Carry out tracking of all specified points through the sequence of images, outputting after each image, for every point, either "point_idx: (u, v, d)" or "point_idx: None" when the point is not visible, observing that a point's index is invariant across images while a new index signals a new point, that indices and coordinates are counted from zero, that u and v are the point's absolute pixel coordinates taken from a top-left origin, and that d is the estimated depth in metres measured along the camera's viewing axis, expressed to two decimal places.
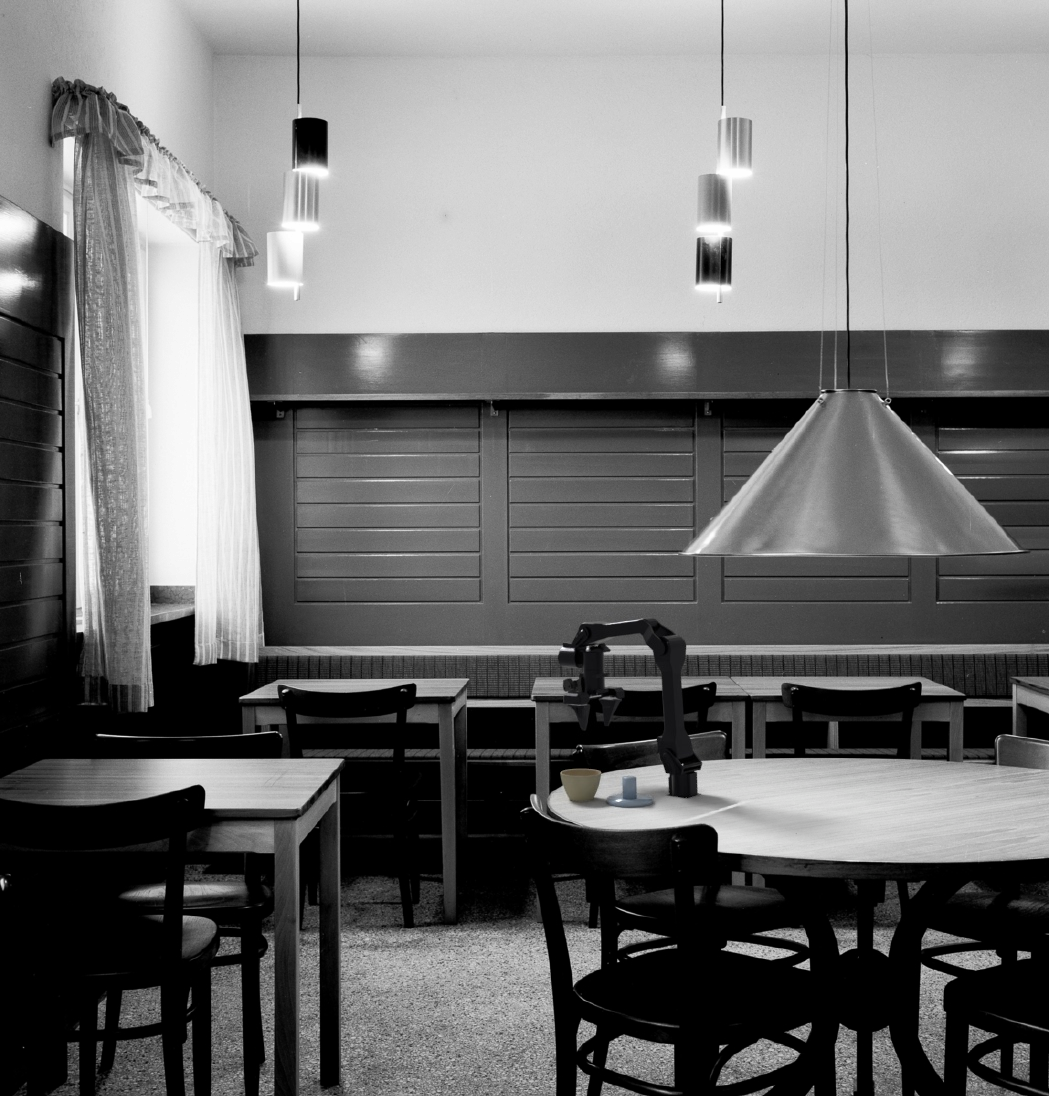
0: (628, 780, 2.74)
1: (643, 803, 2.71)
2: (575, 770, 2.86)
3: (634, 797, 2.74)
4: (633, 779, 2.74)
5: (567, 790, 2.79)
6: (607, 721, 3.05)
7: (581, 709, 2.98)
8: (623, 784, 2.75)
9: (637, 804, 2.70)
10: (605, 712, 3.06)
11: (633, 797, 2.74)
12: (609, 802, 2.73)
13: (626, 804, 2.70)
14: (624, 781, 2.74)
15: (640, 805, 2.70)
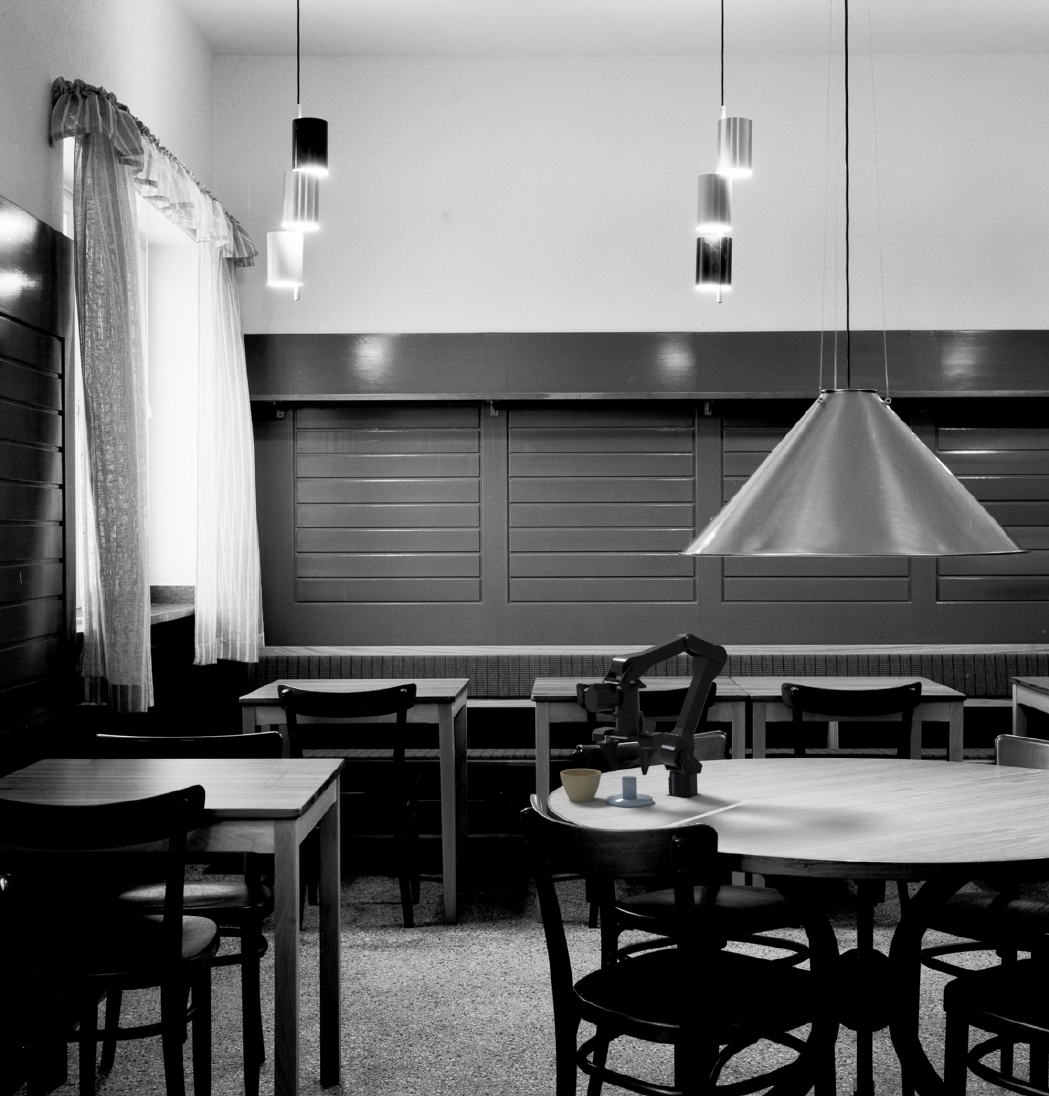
0: (628, 780, 2.74)
1: (643, 803, 2.71)
2: (575, 770, 2.86)
3: (634, 797, 2.74)
4: (633, 779, 2.74)
5: (567, 790, 2.79)
6: None
7: None
8: (623, 784, 2.75)
9: (637, 804, 2.70)
10: None
11: (633, 797, 2.74)
12: (609, 802, 2.73)
13: (626, 804, 2.70)
14: (624, 781, 2.74)
15: (640, 805, 2.70)
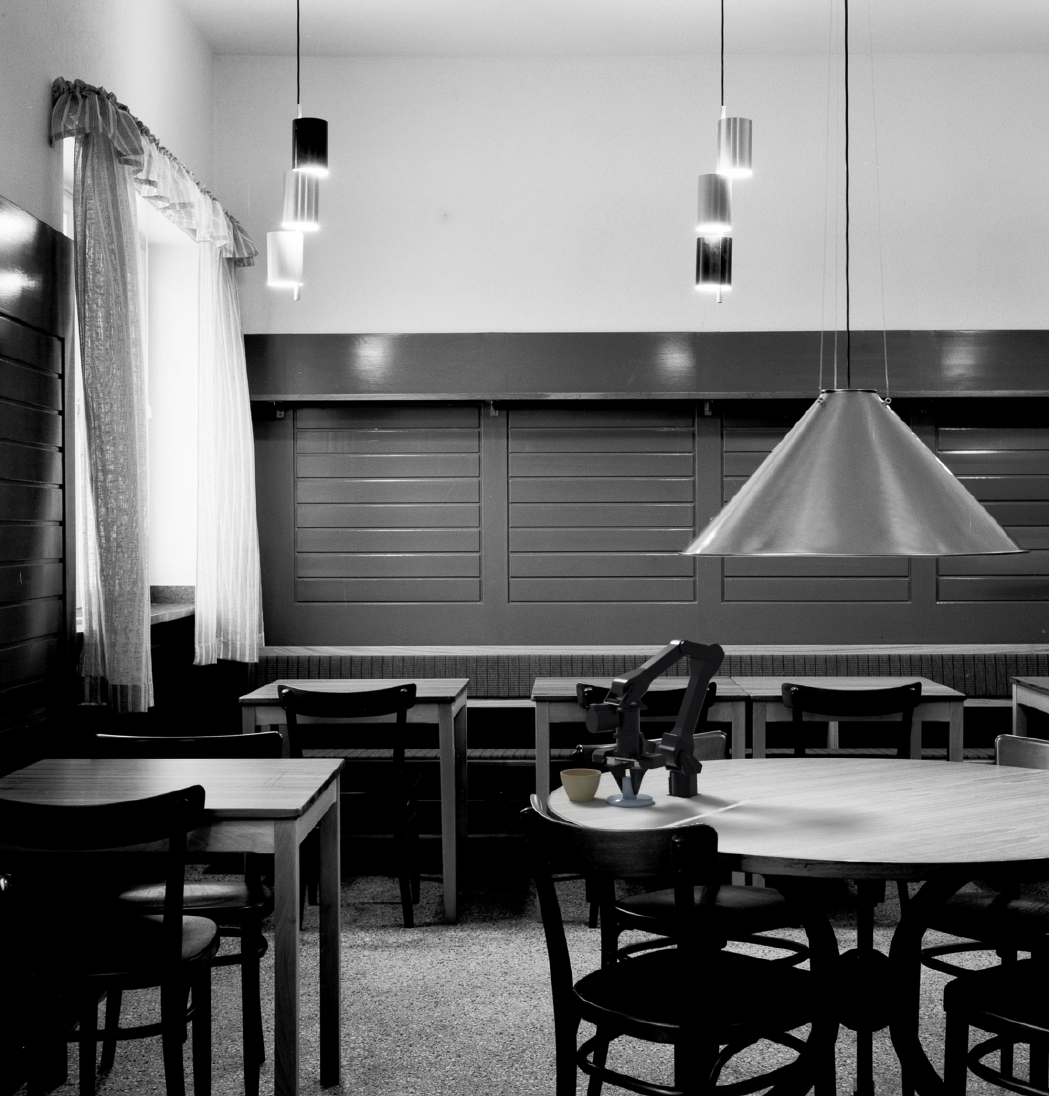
0: (628, 780, 2.74)
1: (643, 803, 2.71)
2: (575, 770, 2.86)
3: (634, 797, 2.74)
4: None
5: (567, 790, 2.79)
6: None
7: None
8: (623, 784, 2.75)
9: (637, 804, 2.70)
10: None
11: (633, 797, 2.74)
12: (609, 802, 2.73)
13: (626, 804, 2.70)
14: (624, 781, 2.74)
15: (640, 805, 2.70)
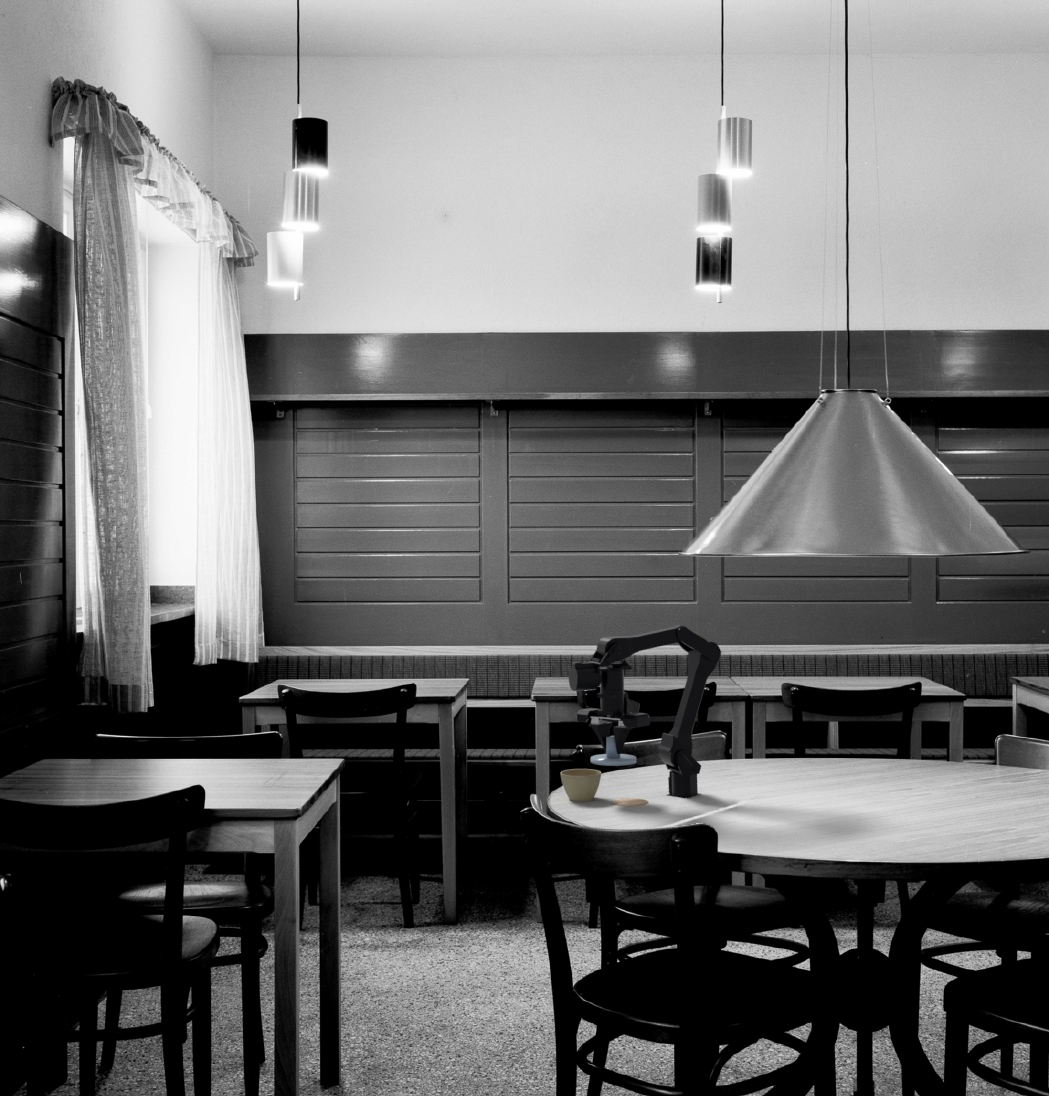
0: (612, 739, 2.75)
1: (627, 762, 2.72)
2: (575, 770, 2.86)
3: (618, 756, 2.76)
4: None
5: (567, 790, 2.79)
6: None
7: None
8: (607, 743, 2.76)
9: (621, 762, 2.72)
10: None
11: (617, 756, 2.75)
12: (593, 761, 2.75)
13: (610, 762, 2.71)
14: (608, 740, 2.76)
15: (624, 764, 2.72)
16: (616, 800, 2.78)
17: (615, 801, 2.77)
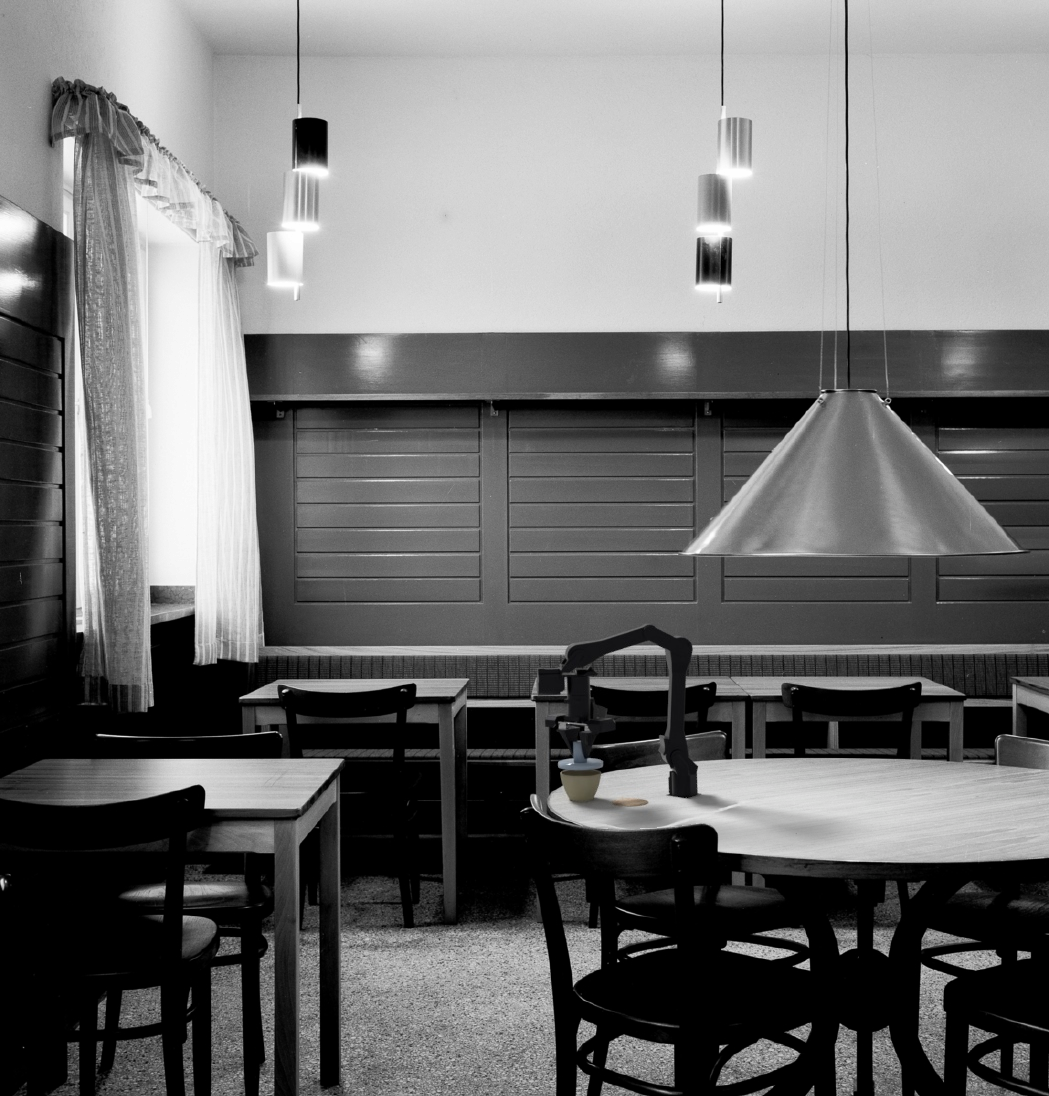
0: (578, 744, 2.79)
1: (593, 766, 2.76)
2: (575, 770, 2.86)
3: (584, 761, 2.80)
4: None
5: (567, 790, 2.79)
6: None
7: None
8: (574, 748, 2.80)
9: (587, 767, 2.76)
10: None
11: (583, 761, 2.79)
12: (560, 766, 2.79)
13: (576, 767, 2.76)
14: (575, 745, 2.80)
15: (590, 768, 2.76)
16: (616, 800, 2.78)
17: (615, 801, 2.77)
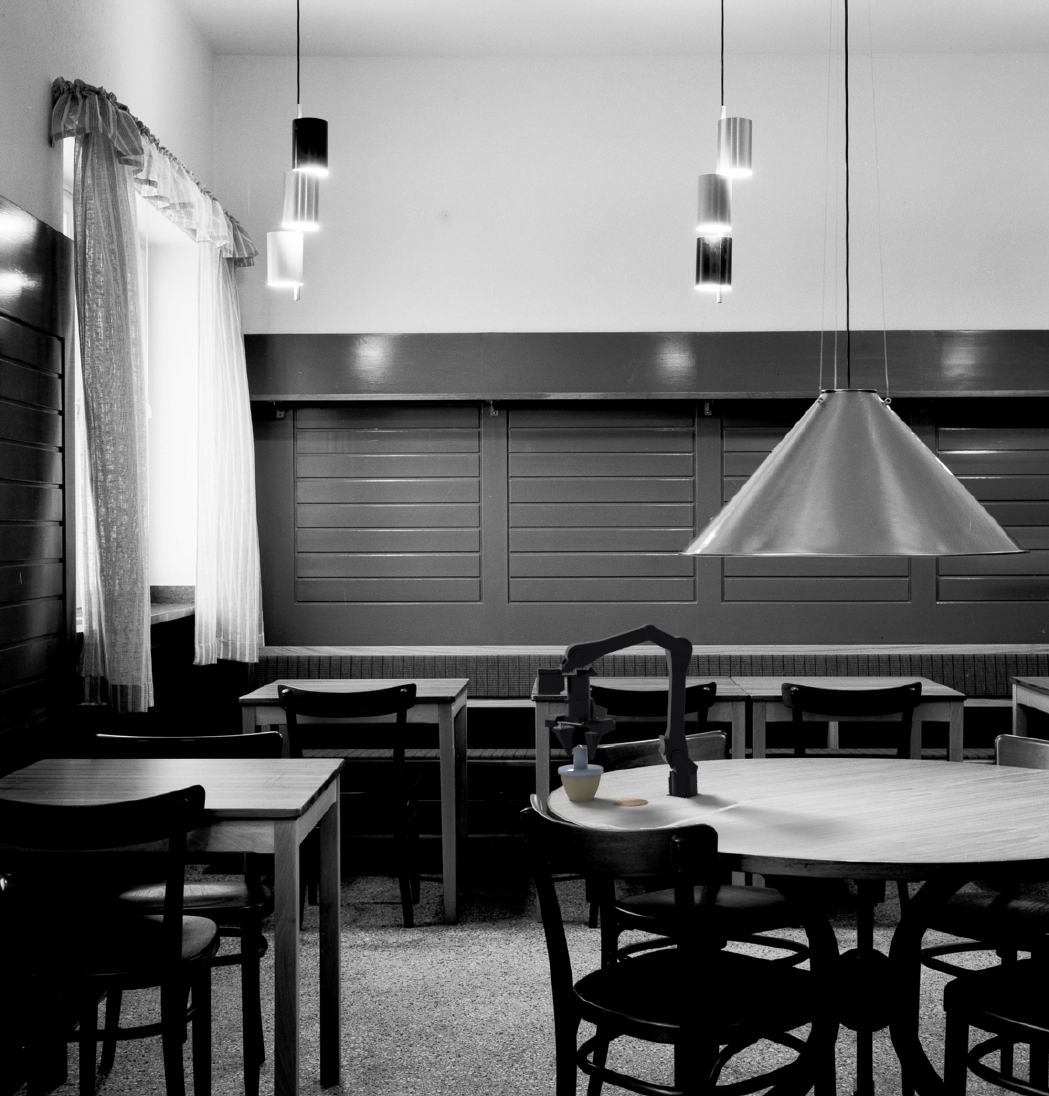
0: (579, 750, 2.79)
1: (593, 773, 2.76)
2: None
3: (585, 767, 2.80)
4: (584, 749, 2.79)
5: (567, 790, 2.79)
6: None
7: None
8: (574, 754, 2.80)
9: (587, 773, 2.76)
10: None
11: (584, 767, 2.79)
12: (560, 772, 2.79)
13: (576, 773, 2.76)
14: (575, 751, 2.80)
15: (590, 774, 2.76)
16: (616, 800, 2.78)
17: (615, 801, 2.77)
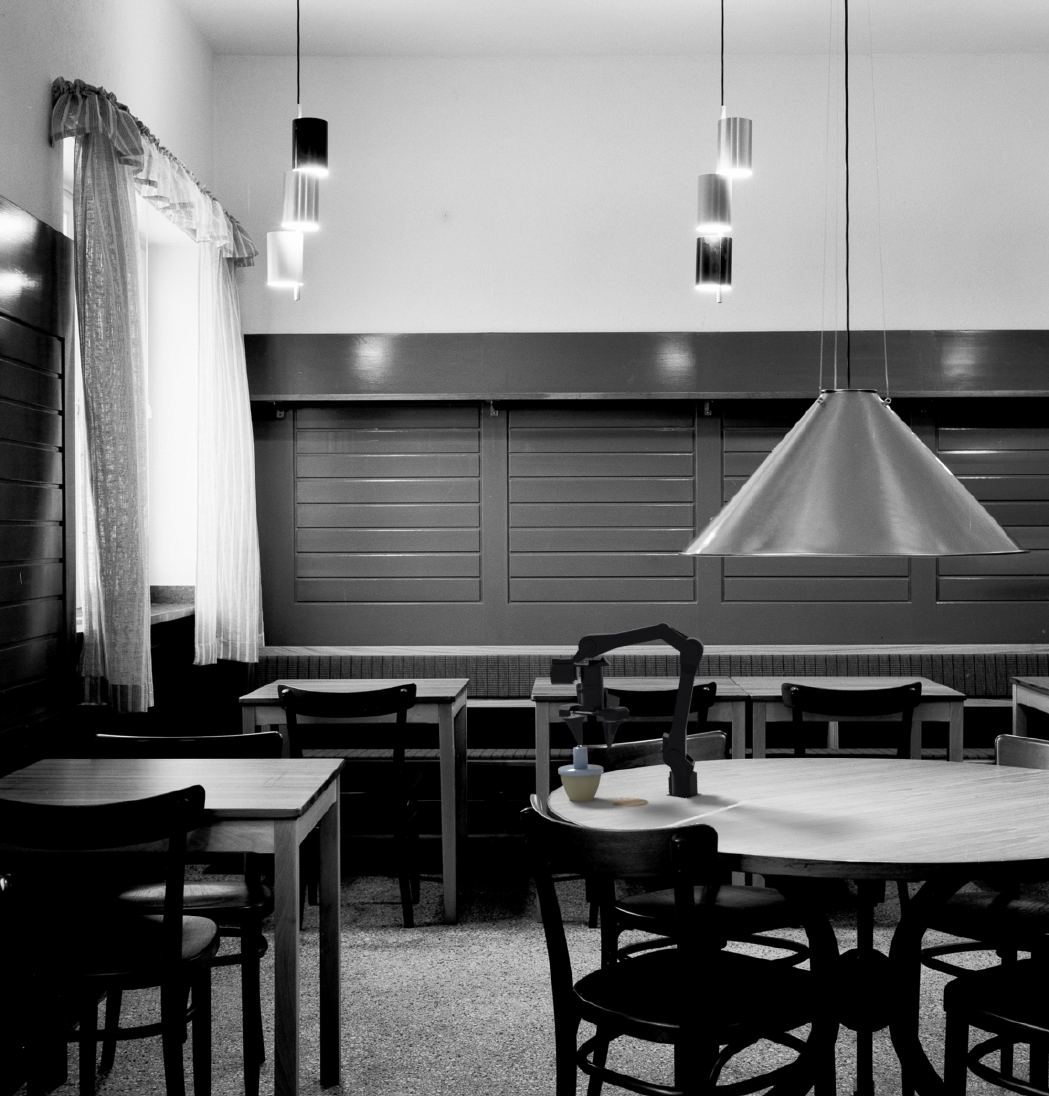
0: (579, 750, 2.79)
1: (593, 772, 2.76)
2: None
3: (585, 767, 2.80)
4: (584, 749, 2.80)
5: (567, 790, 2.79)
6: None
7: None
8: (574, 754, 2.80)
9: (587, 773, 2.76)
10: None
11: (584, 767, 2.79)
12: (560, 772, 2.79)
13: (576, 773, 2.76)
14: (575, 751, 2.80)
15: (590, 774, 2.76)
16: (616, 800, 2.78)
17: (615, 801, 2.77)
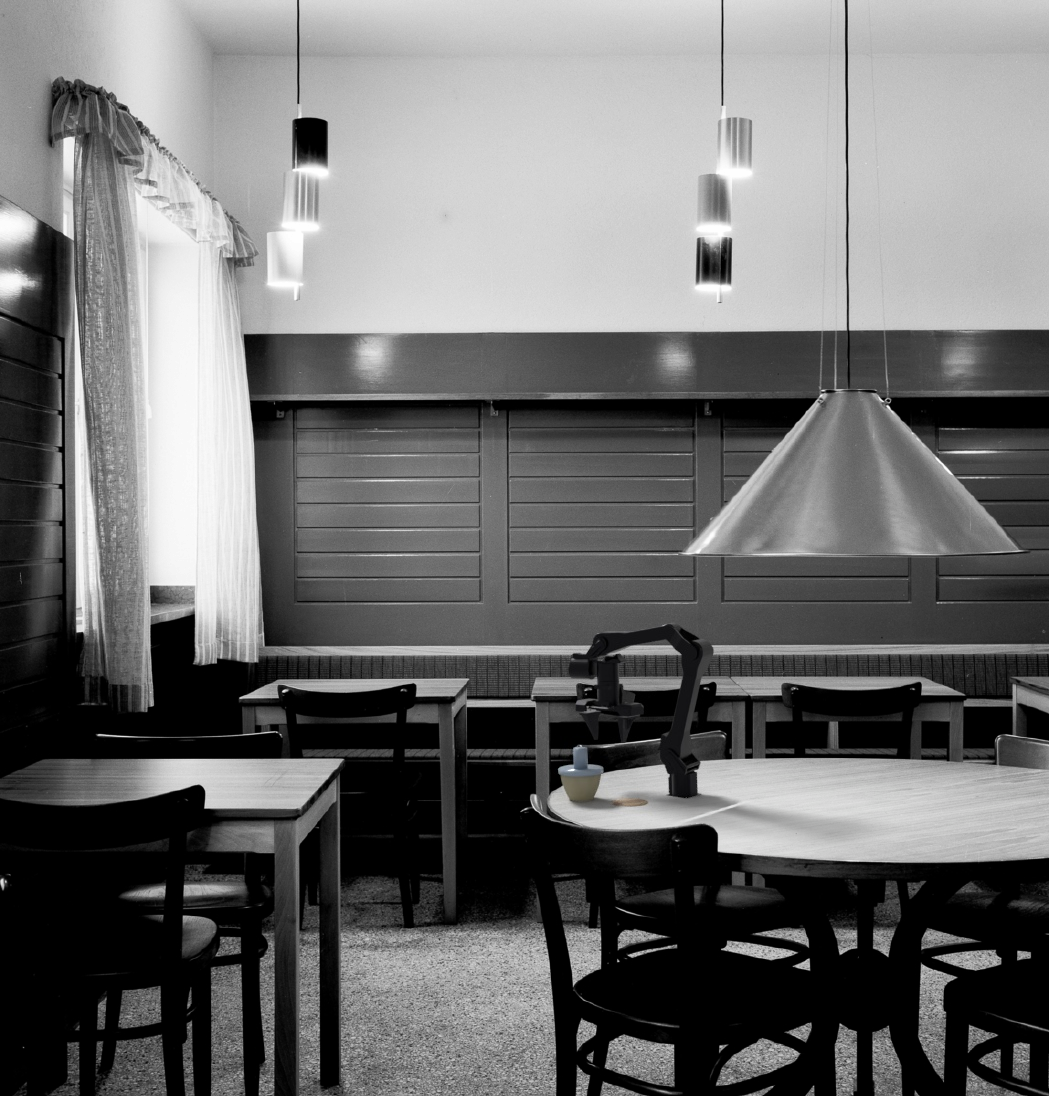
0: (579, 750, 2.79)
1: (593, 773, 2.76)
2: None
3: (585, 767, 2.80)
4: (584, 749, 2.79)
5: (567, 790, 2.79)
6: None
7: None
8: (574, 754, 2.80)
9: (587, 773, 2.76)
10: None
11: (584, 767, 2.79)
12: (560, 772, 2.79)
13: (576, 773, 2.76)
14: (575, 751, 2.80)
15: (590, 774, 2.76)
16: (616, 800, 2.78)
17: (615, 801, 2.77)
